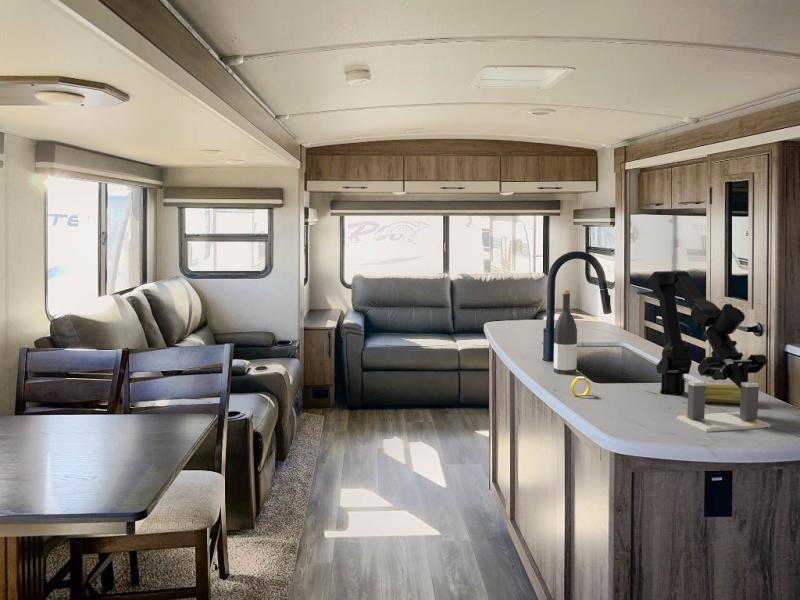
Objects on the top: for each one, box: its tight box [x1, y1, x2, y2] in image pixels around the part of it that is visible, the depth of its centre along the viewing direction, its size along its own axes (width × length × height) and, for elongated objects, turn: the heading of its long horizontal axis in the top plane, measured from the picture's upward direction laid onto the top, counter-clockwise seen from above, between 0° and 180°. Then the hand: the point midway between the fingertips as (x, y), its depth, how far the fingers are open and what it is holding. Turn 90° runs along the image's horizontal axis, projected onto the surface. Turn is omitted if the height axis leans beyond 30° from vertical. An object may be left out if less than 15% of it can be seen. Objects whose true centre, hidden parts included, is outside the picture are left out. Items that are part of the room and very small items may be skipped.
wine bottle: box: [553, 289, 578, 375], centre depth 263 cm, size 8×8×30 cm
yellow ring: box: [570, 376, 591, 397], centre depth 230 cm, size 6×3×6 cm, turn 103°
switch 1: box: [686, 380, 707, 420], centre depth 199 cm, size 2×4×10 cm
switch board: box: [677, 411, 771, 433], centre depth 198 cm, size 13×19×1 cm
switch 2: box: [739, 381, 760, 421], centre depth 197 cm, size 2×4×10 cm
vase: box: [705, 383, 741, 405], centre depth 219 cm, size 6×6×14 cm
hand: (745, 390), depth 198 cm, fingers closed, pressing on switch 2
